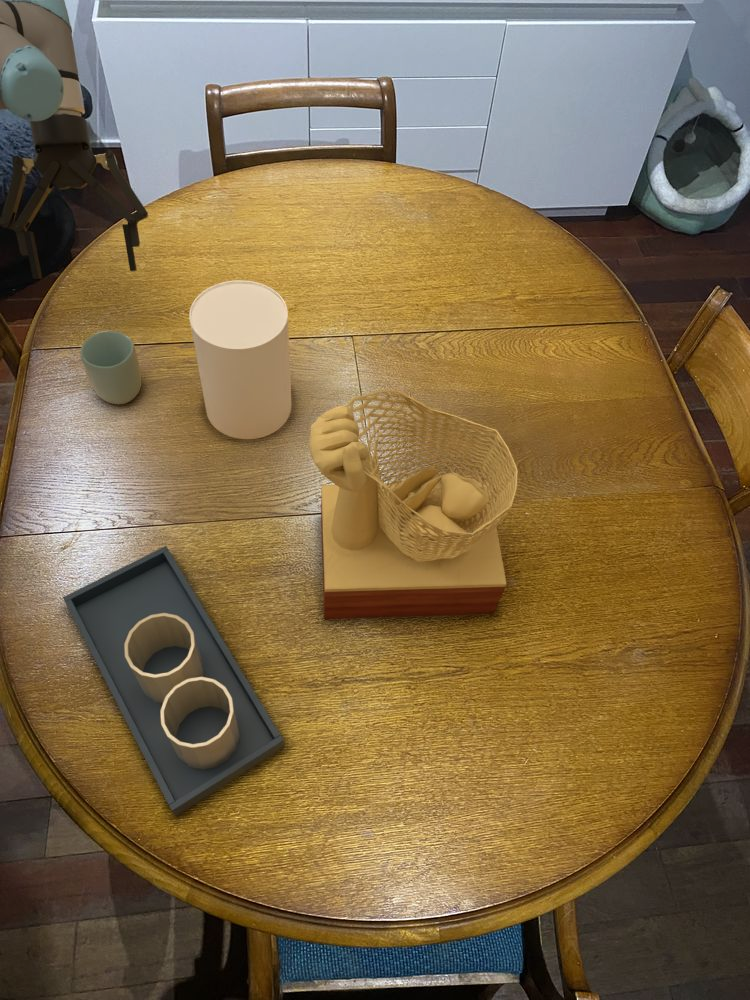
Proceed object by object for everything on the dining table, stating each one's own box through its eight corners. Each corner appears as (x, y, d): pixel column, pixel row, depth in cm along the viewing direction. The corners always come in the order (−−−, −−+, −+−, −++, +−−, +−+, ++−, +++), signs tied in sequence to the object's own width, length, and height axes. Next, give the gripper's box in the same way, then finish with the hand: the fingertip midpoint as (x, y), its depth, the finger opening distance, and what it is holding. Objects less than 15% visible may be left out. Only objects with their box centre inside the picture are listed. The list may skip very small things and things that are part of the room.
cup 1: (85, 401, 124) (69, 357, 116) (113, 368, 128) (99, 323, 120) (128, 418, 123) (114, 374, 114) (155, 384, 127) (143, 340, 118)
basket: (311, 623, 106) (310, 473, 76) (309, 511, 115) (307, 340, 86) (493, 617, 108) (559, 469, 79) (475, 507, 118) (529, 340, 88)
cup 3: (162, 728, 97) (148, 700, 88) (221, 693, 100) (212, 664, 91) (192, 784, 93) (180, 761, 85) (252, 747, 96) (245, 721, 88)
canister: (201, 439, 121) (183, 347, 105) (210, 373, 129) (195, 278, 112) (289, 441, 122) (285, 350, 106) (293, 376, 130) (290, 282, 113)
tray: (69, 608, 105) (62, 597, 102) (169, 557, 110) (165, 545, 107) (176, 817, 91) (171, 811, 88) (284, 748, 96) (284, 740, 94)
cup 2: (130, 666, 101) (113, 634, 92) (186, 635, 104) (175, 601, 95) (157, 718, 97) (142, 690, 89) (215, 684, 100) (206, 654, 92)
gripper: (-46, 116, 104) (-11, 282, 110) (147, 107, 108) (171, 267, 114) (-30, 126, 111) (2, 281, 117) (150, 117, 115) (173, 267, 122)
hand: (86, 275), depth 116 cm, fingers open, 13 cm apart
